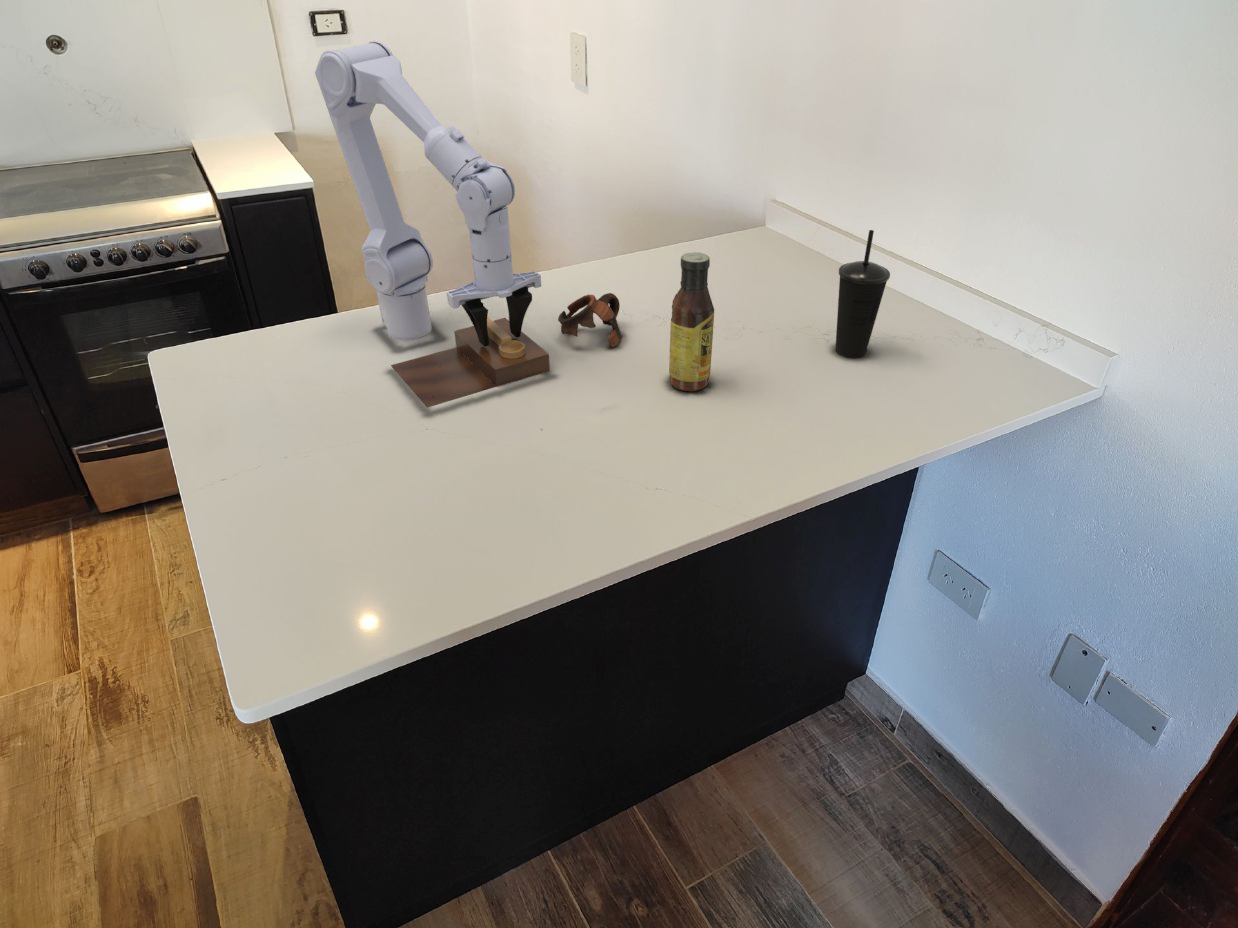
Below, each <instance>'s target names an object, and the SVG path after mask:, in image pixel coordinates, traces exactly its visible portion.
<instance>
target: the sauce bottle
mask: <svg viewBox="0 0 1238 928" xmlns="http://www.w3.org/2000/svg"><path fill="white" fill-rule="evenodd" d="M710 261H711V258H710V256H709V255H708V254H706V253H702V252H697V251H695V252H693V251H692V252H687V253H683V254H682V255H681V257H680V268H681V276H680V278H681V279H680V288H679V289H678V291H677V293H676V294H675V295H674V298H673V300H672V304H671V318H670V332H669V333H670V335H669V337H670V338H669V357H668V359H669V364H668V365H669V366H668V373H669V382H670V385H671V386H672V387H673V388H674V389H677V390H679V391H684V392H697V391H700V390H702V389H704V388H706V387H707V386H708V384H709V382H710V376H711V370H712V368H711V367H712V355H713V354H712V353H713V339H714V325H715V324H714V323H715V307H714V304H713V300H712V298H711V295H710V290H709V287H708V286H709V283H708V278H709V277H708V275H709V268H710V266H711V264H710V263H711V262H710Z"/></svg>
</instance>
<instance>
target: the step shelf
mask: <svg viewBox="0 0 1238 928" xmlns="http://www.w3.org/2000/svg"><path fill="white" fill-rule="evenodd" d="M492 321H493V322H494V323H496V324H497V325H498V326H499V327H500V328H501V329H503V330H504V331H505V332H506V333H507V334H508V335H510V336H511V340H516V341H521V342H523V343H524V344H525V351H526V352H525V354H524V355H523V356H522V357H519V358H515V359H507V358H503V357H501V356H500V354H499V346H498V345H497V344H496V343H495V342H494V341H493V340H492V339H491V338H489V337H488V338H489V345H488V346H483V345H482V344H481V343H480V342H479V339H478V336H477V333H476V330H475V328H474V325H472V326H468V327H464V328H460V329H456V330H454V331H453V334H454V340H455V341H454V342H455V347H453V348H448V349H445V350H441V351H438V352H437V351H436V352H434V353H431V354H426V355H423V356H419V357H415V358H412V359H408V360H404V361H400V362H398V363H393V364H391V365H390V367H391V368H392V369H393V370H394V371H395V373H396V374H397V375H398V376H399V377H400V378H401V380H402V381H403V382H404V383H405V384H406V385H407V386H408V387H409V388H410V390H411V391H412V392H413V394H414V395H415V396H416V397H417V398H418V399H419V400H420V401H421V403H422V404H423V406H425V407H426V408H427V409H428V408H432V407H434V406H438V405H441V404H444V403H447V402H452V401H455V400H457V399H458V400H459V399H461V398H464V397H467V396H470V395H474V394H478V393H481V392H484V391H488V390H491V389H494V388H498V387H501V386H504V385H507V384H511V383H514V382H517V381H521V380H524V379H527V378H531V377H534V376H537V375H540V374H544V373H547V372H551V370H550V369H551V368H550V354H549V352H547V351H546V350H545V349H543V348H542V347H541V346H540V345H539V344H537V343H536V342H535V341H534V340H533V339H531V338H530V337H529V336H528V335H527V334H526V333H524V332H523V331H522V330H521V335H520V337H517V338H516V337H515V336H514V335H513V334H512V333H511V331H510V325H509V319H507V318H506V317H502V318H498V319H495V320H492Z"/></svg>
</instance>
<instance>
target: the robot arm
mask: <svg viewBox="0 0 1238 928" xmlns="http://www.w3.org/2000/svg"><path fill="white" fill-rule="evenodd" d="M314 74H315V77H316V80H317V84H318V86H319V89H320V92H321V95H322V97H323V100H324V102H325V106H326V109H327V112H328V115H329V118H330V121H331V124H332V127H333V129H334V132H335V135H336V137H337V141H338V143H339V146H340V149H341V151H342V155H343V158H344V160H345V164H346V165H347V170H348V171H349V175H350V177H351V180H352V183H353V186H354V188H355V192H356V194H357V198H358V200H359V204H360V205H361V209H362V212H363V214H364V218H365V220H366V223H367V225H368V229H369V233H368V235H367V237H366V238H365V241H364V243H363V245H362V246H361V249H360V250H361V253H362V256H363V260H364V271H365V276H366V279H367V281H368V282H369V284H370V285H371V286H372V288H374V289H375V291H376V296H377V302H378V309H379V313H380V319H381V324H382V325H383V326H384V327H385V328H386V329H387V334H388V336H389V337H390V338H393V339H395V340H401V341H411V340H416V339H421V338H423V337H425V336H427V335H428V334H430V333H431V331H432V329H433V327H432V322H431V321H432V320H431V315H430V307H429V300H428V299H429V298H428V293H427V287H426V283H427V282H429V278H428V277H429V276H428V275H429V274H431V272H432V270H433V267H434V261H433V260H434V259H433V256H432V253H431V250H430V249H429V248H428V246H427V245H426V243H425V241H424V239H423V238H422V235H421V232H420V230H419V229H418V228H416V227H414V226H412V225H410V224H409V223H406V222H405V220H404V217H403V214H402V211H401V208H400V204H399V202H398V198H397V195H396V193H395V190H394V187H393V184H392V181H391V178H390V175H389V171H388V169H387V166H386V163H385V160H384V157H383V153H382V150H381V147H380V145H379V142H378V139H377V135H376V133H375V130H374V127H373V123H372V120H371V115H372V114H373V111H374V109H375V107H376V105H383V106H384V107H386V108H387V109H388V110H389V111H390V112H391V113H392V114H393V115H394V116H396V118H397V119H399V121H400V122H402V123H403V124H404V126H405V127H407V128H408V129H409V130H410V131H411V132H412V133H413V134H414V135H415V136H416V137H417V138H418V139H419V140H420V141H421V142H423V147H424V148H423V151H424V156H425V158H426V159H427V160H428V162H430V163H431V165H432V166H433V167H435V169H436V170H437V171H438V172H439V173H440V174H441V175H442V176H443V178H444V179H445V180H446V181H447V182H448V184H450V185H451V186H452V188H453V189H454V190H455V191H456V193H455V194H454V195H455V201H456V203H457V205H458V207H459V208H460V210H461V211H462V213H463V216H464V223H465V225H466V226H467V229H468V232H469V241H470V242H469V243H470V250H471V258H472V259H471V261H472V268H473V277H474V280H473V281H471V282H469V283H467V284H465V285H463V286H460V287H458V288H455V289H453V290H449V291H446V299H447V304H448V306H449V307H451V308H452V309H453V310H454V309H458V308H460V307H462V308H463V309H464V311H465V313H466V314H467V316H468V318H469V320H470V321H471V323H472V326H474V328H475V330H476V333H477V336H478V339H479V342H480V343H481V344H482V345H483V346H488V345H489V338H488V330H487V317H488V315H489V309H488V308H486V307H485V306H484V303H483V302H482V300H486V299H490V298H494V297H498V298H501V299H503V298H505V301H506V305H507V306H506V307H507V310H508V320H509V325H510V331H511V333H512V334H513V335H514V336H515V337H516V338H517V337H520V335H521V331H522V330H523V329H522V328H523V325H524V323H523V322H524V319H525V316H526V313H527V311H528V309H529V307H530V305H531V303H532V301H533V293H532V292H530V291H529V289H530V288H534V289H538V288H541V287H542V276H541V274H540V273H539V272H537V271H535V270H533V271H532V270H531V271H527V272H526V271H525V272H518V273H514V269H513V257H512V243H511V231H510V221H509V220H510V219H509V207H508V206H509V205H510V204H512V203H513V201H514V199H515V194H516V188H515V184H514V183H515V182H514V180H513V179H512V177H511V175H510V174H509V172H508V171H507V169H506V168H505V167H503V166H502V165H499V164H494V163H492V162H491V161H490V160H485V159H484V158H483V157H482V156H481V154H479V153H478V151H477V150H476V149H475V148H474V147H473V145H472V144H470V143H469V141H468V140H467V139H466V138H465V134H464V133H463V132H462V131H461V130H460V129H457V128H456V127H454V126H447V125H442V124H441V123H440V121H439V120H438V119H437V118H436V116H435V115H434V114H433V112H432V111H431V110H430V109H429V107H428V106H427V105H426V103H425V102H424V101H423V100H422V98H421V97H420V96H419V95H418V93H417V91H415V90H414V88H413V87H412V86H411V84H410V83H409V82H408V80H407V79H406V78H405V77H404V75H403V68H402V63H401V61H400V59H398V57H396V56H395V55H394V53H392V50H391V49H390V47H388V46H387V45H386V44H385V43H383V42H381V41H378V40H374V41H369V42H368V43H365V44H360V45H354V46H349V47H344V48H340V49H336V50H335V49H328V50H325V51H323V52H322V53H321V54H320V57H319V59H318V62H317V65H316V67H315V71H314Z"/></svg>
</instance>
